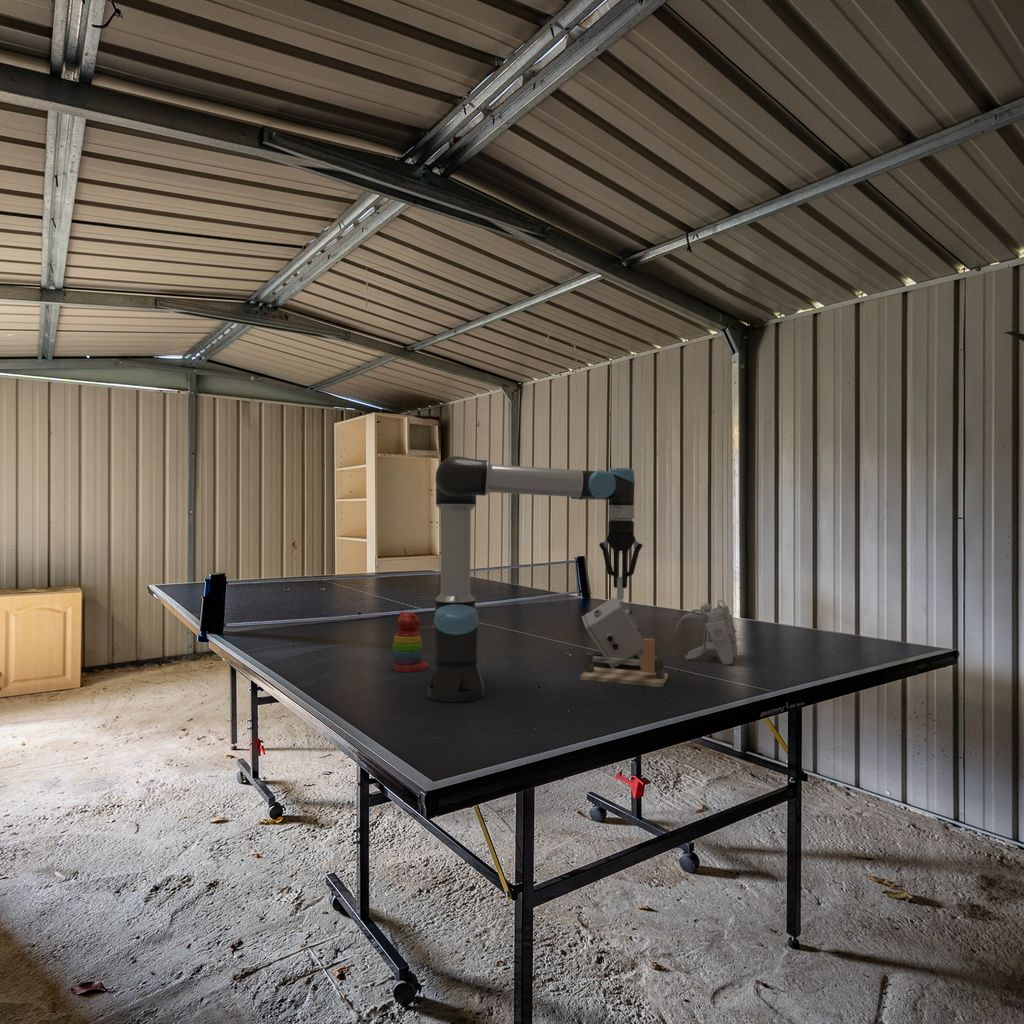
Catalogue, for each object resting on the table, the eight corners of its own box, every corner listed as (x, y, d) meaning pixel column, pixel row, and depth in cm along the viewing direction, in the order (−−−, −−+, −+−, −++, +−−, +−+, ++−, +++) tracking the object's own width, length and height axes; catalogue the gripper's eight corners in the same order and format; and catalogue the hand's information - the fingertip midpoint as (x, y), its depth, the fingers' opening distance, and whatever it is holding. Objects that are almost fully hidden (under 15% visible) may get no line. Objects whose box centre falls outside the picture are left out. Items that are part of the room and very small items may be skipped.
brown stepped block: (640, 671, 191) (640, 640, 191) (642, 668, 195) (643, 637, 195) (654, 672, 190) (654, 641, 190) (656, 669, 194) (656, 638, 194)
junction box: (661, 657, 204) (622, 598, 204) (621, 683, 204) (582, 624, 205) (649, 642, 228) (614, 589, 228) (613, 666, 228) (578, 612, 229)
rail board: (579, 679, 193) (579, 657, 193) (589, 670, 205) (589, 649, 205) (662, 687, 185) (662, 664, 185) (667, 677, 196) (667, 655, 196)
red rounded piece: (431, 668, 207) (432, 612, 207) (406, 674, 199) (406, 615, 199) (410, 663, 214) (410, 608, 214) (384, 668, 207) (385, 611, 207)
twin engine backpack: (692, 661, 232) (678, 605, 234) (746, 653, 224) (731, 596, 226) (681, 672, 216) (667, 612, 218) (739, 664, 208) (723, 602, 210)
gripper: (596, 519, 194) (595, 599, 194) (641, 520, 189) (640, 601, 189) (602, 519, 201) (601, 596, 201) (645, 520, 197) (644, 598, 196)
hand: (620, 599), depth 195 cm, fingers closed
